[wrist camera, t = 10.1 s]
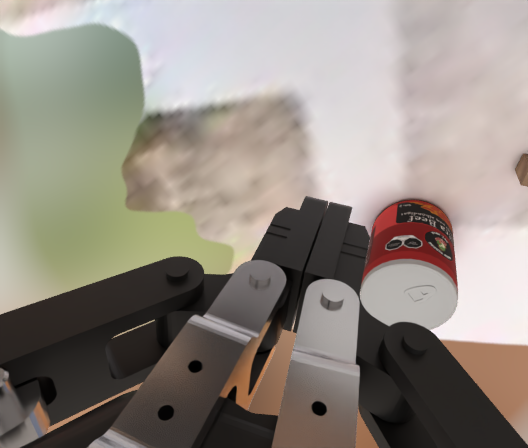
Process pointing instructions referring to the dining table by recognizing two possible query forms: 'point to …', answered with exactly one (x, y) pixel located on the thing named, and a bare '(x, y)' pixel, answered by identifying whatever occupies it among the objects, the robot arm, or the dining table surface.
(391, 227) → the canned food
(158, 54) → the dining table surface
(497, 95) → the dining table surface
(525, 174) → the trap lane
